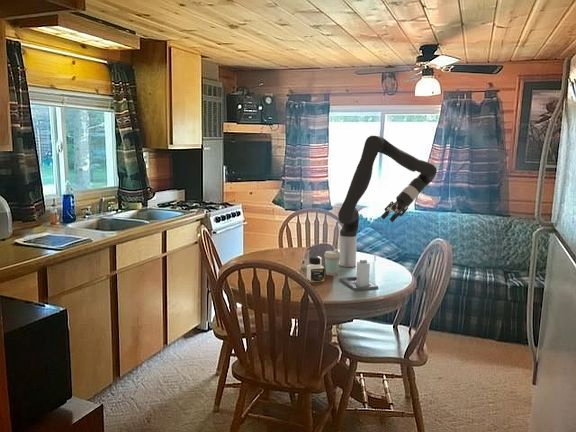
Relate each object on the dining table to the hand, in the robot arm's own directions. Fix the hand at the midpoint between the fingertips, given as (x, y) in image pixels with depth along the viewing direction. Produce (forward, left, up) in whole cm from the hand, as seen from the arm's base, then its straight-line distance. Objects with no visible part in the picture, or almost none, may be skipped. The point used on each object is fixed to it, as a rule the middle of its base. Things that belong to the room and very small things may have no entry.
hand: (386, 219), depth 240 cm
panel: (+6, -18, -31) cm, 36 cm away
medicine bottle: (-8, -35, -31) cm, 47 cm away
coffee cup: (-15, -23, -31) cm, 41 cm away
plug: (+10, -18, -30) cm, 37 cm away
